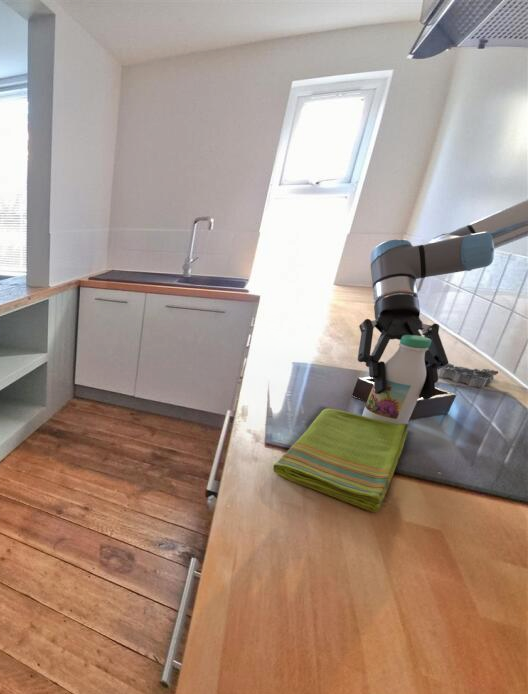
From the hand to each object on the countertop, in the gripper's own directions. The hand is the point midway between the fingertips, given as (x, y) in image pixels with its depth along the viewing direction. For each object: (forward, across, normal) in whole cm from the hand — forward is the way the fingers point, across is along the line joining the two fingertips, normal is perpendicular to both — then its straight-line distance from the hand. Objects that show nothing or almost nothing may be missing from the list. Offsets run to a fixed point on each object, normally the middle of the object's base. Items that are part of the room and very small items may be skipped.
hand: (404, 394), depth 87 cm
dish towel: (+17, +13, +4) cm, 22 cm away
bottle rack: (-5, -8, -17) cm, 19 cm away
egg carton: (-22, -32, -34) cm, 52 cm away
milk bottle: (+4, 0, -9) cm, 9 cm away
